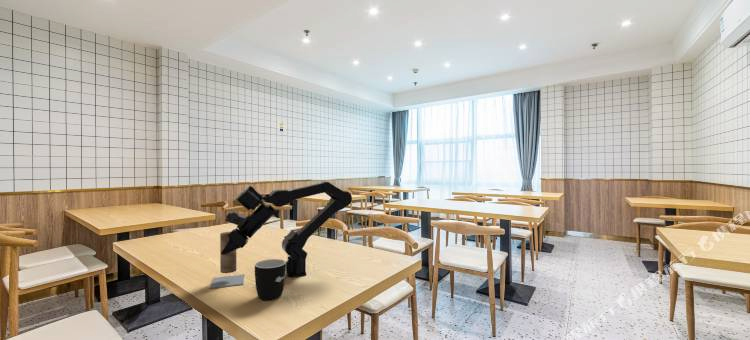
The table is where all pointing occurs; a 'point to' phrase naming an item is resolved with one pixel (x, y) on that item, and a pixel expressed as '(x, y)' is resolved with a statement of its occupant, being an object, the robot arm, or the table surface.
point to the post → (226, 256)
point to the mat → (227, 281)
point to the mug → (270, 278)
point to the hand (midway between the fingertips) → (224, 251)
